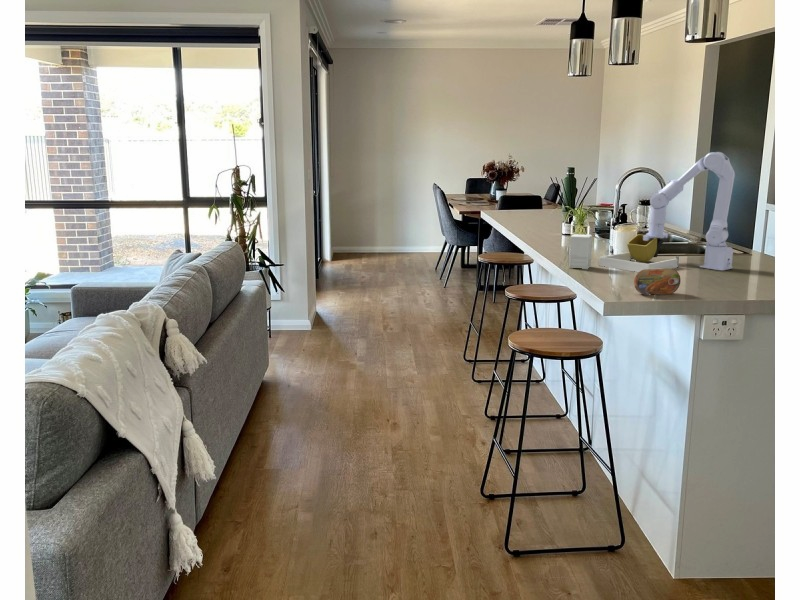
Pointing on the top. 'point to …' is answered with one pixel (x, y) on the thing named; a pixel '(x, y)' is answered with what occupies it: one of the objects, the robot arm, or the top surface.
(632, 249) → the flower pot
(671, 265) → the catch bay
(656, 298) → the top surface
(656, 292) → the tin
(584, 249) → the supplement box
